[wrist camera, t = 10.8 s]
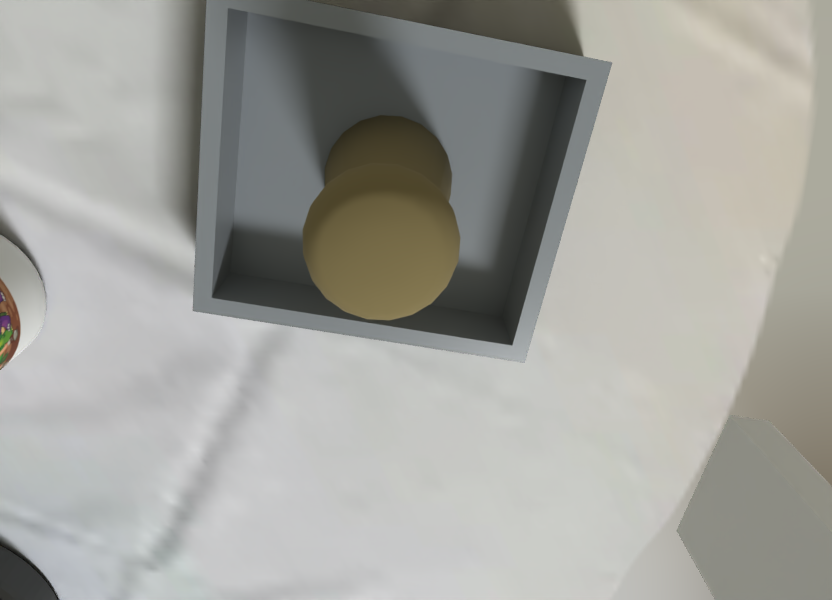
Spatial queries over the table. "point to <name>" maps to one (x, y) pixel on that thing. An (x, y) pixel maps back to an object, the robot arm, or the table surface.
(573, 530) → the table surface
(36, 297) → the milk bottle
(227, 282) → the tray
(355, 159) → the cork
